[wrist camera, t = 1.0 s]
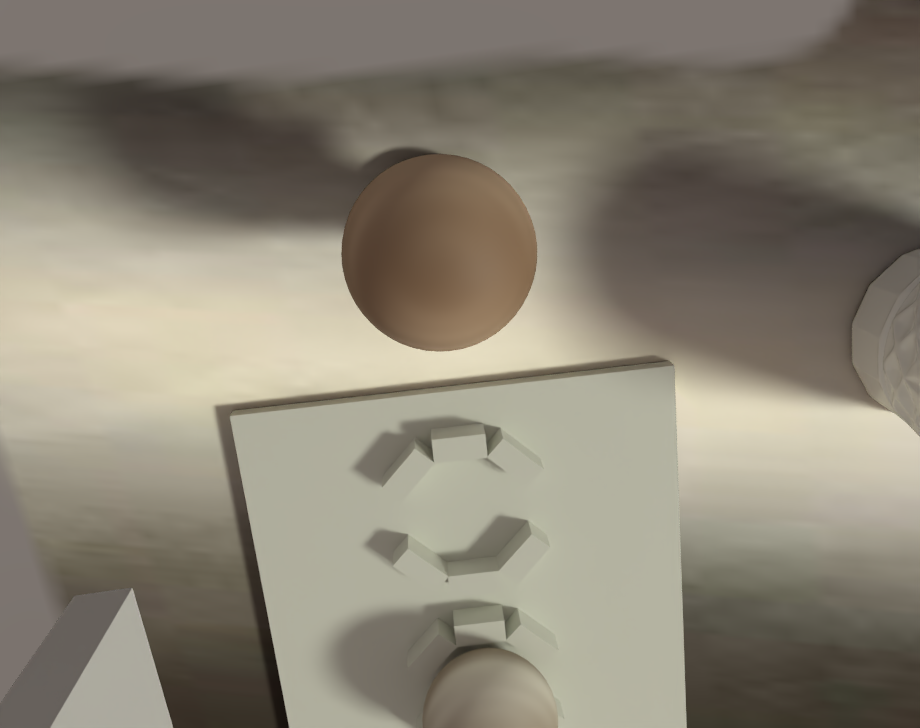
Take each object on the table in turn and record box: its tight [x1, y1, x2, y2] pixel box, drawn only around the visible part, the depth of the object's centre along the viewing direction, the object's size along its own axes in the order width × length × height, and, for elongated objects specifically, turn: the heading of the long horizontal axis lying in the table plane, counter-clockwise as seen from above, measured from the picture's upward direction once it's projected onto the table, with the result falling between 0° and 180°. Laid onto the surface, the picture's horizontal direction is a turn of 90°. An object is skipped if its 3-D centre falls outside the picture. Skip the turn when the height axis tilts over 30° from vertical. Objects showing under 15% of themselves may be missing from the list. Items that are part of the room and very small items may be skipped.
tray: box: [230, 361, 687, 728], centre depth 33 cm, size 24×16×2 cm, turn 6°
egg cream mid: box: [422, 648, 558, 728], centre depth 31 cm, size 5×5×5 cm
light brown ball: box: [342, 154, 537, 351], centre depth 22 cm, size 5×5×5 cm
